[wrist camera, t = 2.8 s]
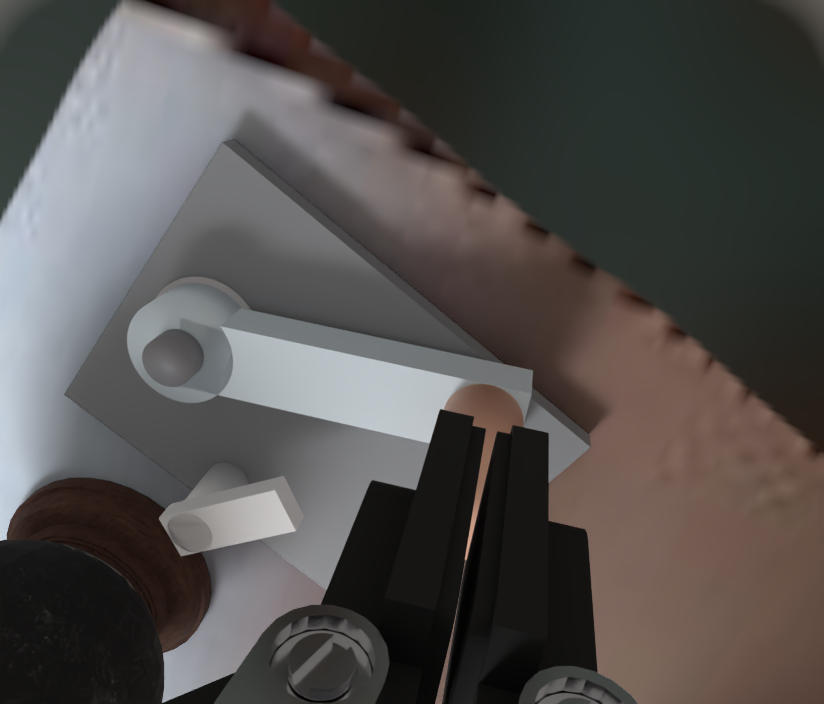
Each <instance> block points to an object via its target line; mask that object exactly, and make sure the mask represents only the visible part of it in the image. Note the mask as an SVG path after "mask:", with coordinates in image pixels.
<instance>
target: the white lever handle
mask: <svg viewBox="0 0 824 704" xmlns="http://www.w3.org/2000/svg"><path fill="white" fill-rule="evenodd" d="M127 346H128V351H129V355H130V358H131V361H132V363H133V365H134V367H135V369H136V370H137V372H138V374H139V375H140V376H141V377H142V379H143V380H144V381H145V382H146V383H147V384H148V385H149V386H150V387H152V388H153V389H154V390H155V391H157V392H158V393H160V394H162V395H163V396H165V397H167V398H170V399H172V400H176V401H179V402H185V403H199V402H204V401H207V400H210V399H212V398H214V397H215V396H217V395H219V396H224V397H228V398H233V399H237V400H241V401H246V402H250V403H255V404H259V405H263V406H268V407H272V408H277V409H281V410H285V411H290V412H294V413H298V414H303V415H307V416H312V417H316V418H320V419H325V420H329V421H334V422H338V423H342V424H347V425H351V426H356V427H360V428H364V429H369V430H373V431H378V432H382V433H386V434H391V435H395V436H400V437H404V438H408V439H413V440H417V441H421V442H426V443H430V441H431V437H432V434H433V431H434V427H435V424H436V420H437V417H438V414H439V411H440V409H443V410H447V411H452V412H456V413H461V414H465V415H470V416H474V421H473V426H476V427H481V428H485V429H486V433H485V440H484V446H483V452H482V458H481V464H480V470H479V476H478V482H477V488H476V495H475V501H474V507H473V513H472V519H471V525H470V531H469V537H468V544H467V550H466V556H465V560H467V556H468V552H469V548H470V543H471V539H472V535H473V531H474V526H475V522H476V518H477V514H478V509H479V505H480V501H481V497H482V492H483V488H484V484H485V480H486V475H487V471H488V467H489V463H490V458H491V454H492V450H493V446H494V441H495V437H496V434H497V431H499V432H504V433H508V434H510V432H511V429H512V426H513V425H515V426H520V427H523V426H524V422H525V418H526V414H527V410H528V406H529V402H530V398H531V394H532V379H533V370H529V369H524V368H519V367H515V366H510V365H505V364H501V363H496V362H491V361H487V360H482V359H477V358H473V357H468V356H463V355H459V354H454V353H449V352H444V351H440V350H435V349H430V348H426V347H421V346H416V345H412V344H407V343H402V342H398V341H393V340H388V339H383V338H379V337H374V336H369V335H365V334H360V333H355V332H351V331H346V330H341V329H337V328H332V327H327V326H323V325H318V324H313V323H308V322H304V321H299V320H294V319H290V318H285V317H280V316H276V315H271V314H266V313H262V312H257V311H252V310H247V309H243V308H241V307H240V306H239V305H238V304H237V303H236V302H235V301H234V300H233V299H232V298H231V297H230V296H228V295H227V294H226V293H224V292H223V291H221V290H219V289H217V288H215V287H212V286H209V285H206V284H200V283H186V284H181V285H178V286H176V287H174V288H172V289H170V290H169V291H167V292H165V293H164V294H162V295H161V296H159V297H158V298H156V299H155V300H153V301H151V302H150V303H148V304H147V305H145V306H144V307H142V308H141V309H140V310H139V311H138V312H137V313H136V314H135V316H134V317H133V319H132V320H131V322H130V325H129V328H128V333H127Z"/></svg>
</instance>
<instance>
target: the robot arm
mask: <svg viewBox="0 0 824 704" xmlns="http://www.w3.org/2000/svg"><path fill="white" fill-rule="evenodd" d="M473 421H474V416H470V415H465V414H461V413H456V412H452V411H447V410H443V409H440V411H439V414H438V417H437V420H436V424H435V427H434V431H433V434H432V437H431V441H430V444H429V448H428V451H427V454H426V458H425V461H424V465H423V468H422V471H421V475H420V478H419V481H418V485H417V488H416V490H413V489H409V488H405V487H401V486H396V485H392V484H388V483H383V482H379V481H375V480H372V481H371V482H370V484H369V486H368V489H367V491H366V494H365V496H364V499H363V501H362V504H361V506H360V509H359V511H358V513H357V516H356V518H355V521H354V523H353V526H352V528H351V531H350V533H349V536H348V538H347V541H346V543H345V546H344V548H343V551H342V553H341V556H340V558H339V561H338V563H337V566H336V568H335V571H334V573H333V576H332V578H331V581H330V583H329V586H328V588H327V591H326V593H325V596H324V598H323V601H322V603H321V605H309V606H305V607H301V608H297V609H293V610H291V611H289V612H288V613H286V614H284V615H282V616H280V617H279V618H277V619H276V620H275V621H274V622H273V623H272V624H271V625H270V626H269V627H268V628H267V629H266V630H265V631H264V632H263V634H262V635H261V636H260V638H259V639H258V641H257V642H256V644H255V645H254V646H253V648H252V649H251V651H250V652H249V654H248V655H247V656H246V658H245V659H244V661H243V662H242V664H241V665H240V666H239V668H238V669H237V671H236V672H235V673H233V674H231V675H228V676H226V677H223V678H221V679H219V680H216V681H214V682H212V683H209V684H207V685H204V686H202V687H200V688H197V689H195V690H193V691H190V692H188V693H185V694H183V695H181V696H178V697H176V698H174V699H171V700H169V701H166V702H164V703H162V704H435V701H436V697H437V692H438V688H439V684H440V680H441V675H442V671H443V667H444V663H445V659H446V654H447V650H448V646H449V642H450V637H451V633H452V629H453V624H454V619H455V614H456V609H457V604H458V609H457V615H456V621H455V627H454V633H453V640H452V646H451V652H450V658H449V664H448V670H447V677H446V683H445V689H444V695H443V701H442V704H638V703H637V702H636V701H635V699H634V698H633V697H632V696H631V695H630V694H629V693H628V692H626V691H625V690H624V689H623V688H622V687H620V686H619V685H618V684H617V683H615V682H614V681H612V680H611V679H609V678H607V677H605V676H603V675H601V674H599V673H597V660H596V646H595V632H594V618H593V604H592V590H591V576H590V562H589V548H588V537H587V532H586V531H585V529H581V528H577V527H573V526H568V525H564V524H560V523H555V522H551V521H548V492H549V433H547V432H543V431H538V430H534V429H529V428H524V427H520V426H515V425H513V426H512V429H511V432H510V434H508V433H504V432H499V431H497V434H496V437H495V441H494V446H493V450H492V454H491V458H490V463H489V467H488V471H487V475H486V480H485V484H484V488H483V492H482V497H481V501H480V505H479V509H478V514H477V518H476V522H475V526H474V531H473V535H472V539H471V543H470V548H469V552H468V556H467V560H466V565H465V569H464V574H463V568H464V562H465V556H466V550H467V544H468V537H469V531H470V525H471V519H472V513H473V507H474V501H475V495H476V488H477V482H478V476H479V470H480V464H481V458H482V452H483V446H484V440H485V433H486V429H485V428H481V427H476V426H473ZM462 574H463V579H462ZM461 580H462V584H461ZM460 586H461V590H460ZM459 592H460V596H459ZM458 598H459V603H458Z"/></svg>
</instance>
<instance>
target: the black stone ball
mask: <svg viewBox="0 0 824 704" xmlns="http://www.w3.org/2000/svg"><path fill="white" fill-rule="evenodd" d="M164 511H165V509H164V508H163V507H161V506H160V505H158V504H157V503H156V502H154V501H153V500H151V499H150V498H148V497H146V496H144V495H142V494H140V493H139V492H137V491H135V490H133V489H131V488H128V487H125V486H122V485H119V484H116V483H114V482H111V481H106V480H100V479H94V478H68V479H64V480H59V481H55V482H52V483H50V484H48V485H46V486H44V487H42V488H40V489H39V490H37V491H36V492H35V493H34V494H33V495H32V496H31V497H29V498H28V499H27V500H26V501H25V502H24V503H23V504H22V505H20V506H19V507H18V509H17V510H16V512H15V514H14V515H13V517H12V519H11V521H10V524H9V528H8V532H7V540H3V541H0V704H162V698H163V691H164V660H163V653H164V652H167V651H170V650H173V649H175V648H177V647H178V646H180V645H182V644H183V643H185V642H186V641H187V640H188V639H189V638H190V637H191V636H192V635H193V634H194V632H195V631H196V630H197V628H198V627H199V625H200V623H201V622H202V620H203V618H204V616H205V614H206V612H207V610H208V608H209V603H210V597H211V583H210V575H209V571H208V568H207V565H206V562H205V559H204V557H203V555H202V553H201V552H198V553H194V554H189V555H185V556H181V555H180V554H179V552H178V550H177V549H176V547H175V545H174V544H173V542H172V540H171V538H170V537H169V535H168V533H167V532H166V530H165V528H164V527H163V525H162V523H161V521H160V520H159V517H160V516H161V515H162V513H163V512H164Z"/></svg>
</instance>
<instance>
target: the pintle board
mask: <svg viewBox="0 0 824 704" xmlns="http://www.w3.org/2000/svg"><path fill="white" fill-rule="evenodd" d="M186 283H200V284H206V285H209V286H212V287H215V288H217V289H219V290H221V291H223V292H224V293H226V294H227V295H228V296H230V297H231V298H232V299H233V300H234V301H235V302H236V303H237V304H238V305H239V306H240V307H241V308H243V309H247V310H252V311H257V312H262V313H266V314H271V315H276V316H280V317H285V318H290V319H294V320H299V321H304V322H308V323H313V324H318V325H323V326H327V327H332V328H337V329H341V330H346V331H351V332H355V333H360V334H365V335H369V336H374V337H379V338H383V339H388V340H393V341H398V342H402V343H407V344H412V345H416V346H421V347H426V348H430V349H435V350H440V351H444V352H449V353H454V354H459V355H463V356H468V357H473V358H477V359H482V360H487V361H491V362H496V363H501V364H504V363H502V362H501V361H500V360H499V359H498V358H496V357H495V356H494V355H493V354H492V353H490V352H489V351H488V350H487V349H486V348H484V347H483V346H482V345H481V344H480V343H478V342H477V341H476V340H475V339H474V338H472V337H471V336H470V335H469V334H468V333H466V332H465V331H464V330H463V329H462V328H460V327H459V326H458V325H457V324H455V323H454V322H453V321H452V320H451V319H449V318H448V317H447V316H446V315H445V314H443V313H442V312H441V311H440V310H439V309H437V308H436V307H435V306H434V305H433V304H431V303H430V302H429V301H428V300H427V299H425V298H424V297H423V296H422V295H421V294H419V293H418V292H417V291H416V290H415V289H413V288H412V287H411V286H410V285H409V284H407V283H406V282H405V281H404V280H403V279H401V278H400V277H399V276H398V275H397V274H395V273H394V272H393V271H392V270H390V269H389V268H388V267H387V266H386V265H384V264H383V263H382V262H381V261H380V260H378V259H377V258H376V257H375V256H374V255H372V254H371V253H370V252H369V251H368V250H366V249H365V248H364V247H363V246H362V245H360V244H359V243H358V242H357V241H356V240H354V239H353V238H352V237H351V236H350V235H348V234H347V233H346V232H345V231H344V230H342V229H341V228H340V227H339V226H338V225H336V224H335V223H334V222H333V221H332V220H330V219H329V218H328V217H327V216H325V215H324V214H323V213H322V212H321V211H319V210H318V209H317V208H316V207H315V206H313V205H312V204H311V203H310V202H309V201H307V200H306V199H305V198H304V197H303V196H301V195H300V194H299V193H298V192H297V191H295V190H294V189H293V188H292V187H291V186H289V185H288V184H287V183H286V182H285V181H283V180H282V179H281V178H280V177H279V176H277V175H276V174H275V173H274V172H273V171H271V170H270V169H269V168H268V167H267V166H265V165H264V164H263V163H262V162H261V161H259V160H258V159H257V158H256V157H254V156H253V155H252V154H251V153H250V152H248V151H247V150H246V149H245V148H244V147H242V146H241V145H240V144H239V143H238V142H236V141H235V140H234V139H232V140H229V141H226V142H222V144H221V146H220V147H219V149H218V150H217V152H216V154H215V155H214V157H213V158H212V160H211V162H210V163H209V165H208V166H207V168H206V169H205V171H204V173H203V174H202V176H201V177H200V179H199V181H198V182H197V184H196V185H195V187H194V189H193V190H192V192H191V193H190V195H189V197H188V198H187V200H186V201H185V203H184V204H183V206H182V208H181V209H180V211H179V212H178V214H177V216H176V217H175V219H174V220H173V222H172V224H171V225H170V227H169V228H168V230H167V232H166V233H165V235H164V236H163V238H162V240H161V241H160V243H159V244H158V246H157V247H156V249H155V251H154V252H153V254H152V255H151V257H150V259H149V260H148V262H147V263H146V265H145V267H144V268H143V270H142V271H141V273H140V275H139V276H138V278H137V279H136V281H135V283H134V284H133V286H132V287H131V289H130V290H129V292H128V294H127V295H126V297H125V298H124V300H123V302H122V303H121V305H120V306H119V308H118V310H117V311H116V313H115V314H114V316H113V318H112V319H111V321H110V322H109V324H108V326H107V327H106V329H105V330H104V332H103V333H102V335H101V337H100V338H99V340H98V341H97V343H96V345H95V346H94V348H93V349H92V351H91V353H90V354H89V356H88V357H87V359H86V361H85V362H84V364H83V365H82V367H81V369H80V370H79V372H78V373H77V375H76V376H75V378H74V380H73V381H72V383H71V384H70V386H69V388H68V389H67V391H66V392H65V394H64V395H66V396H67V397H68V398H70V399H71V400H72V401H74V402H75V403H76V404H78V405H79V406H80V407H82V408H83V409H84V410H86V411H87V412H88V413H90V414H91V415H92V416H94V417H95V418H96V419H98V420H99V421H100V422H102V423H103V424H104V425H106V426H107V427H108V428H110V429H111V430H112V431H114V432H115V433H116V434H118V435H119V436H120V437H122V438H123V439H124V440H126V441H127V442H128V443H130V444H131V445H132V446H134V447H135V448H136V449H138V450H139V451H141V452H142V453H143V454H145V455H146V456H147V457H149V458H150V459H151V460H153V461H154V462H155V463H157V464H158V465H159V466H161V467H162V468H163V469H165V470H166V471H167V472H169V473H170V474H171V475H173V476H174V477H175V478H177V479H178V480H179V481H181V482H182V483H183V484H185V485H186V486H187V487H189V488H190V489H191V490H192V492H191V493H190V494H189V495H188V497H187V498H186V499H185V500H184V501H180V502H176V503H172V504H170V505H169V506H168V507H167V509H166V510H165V511H164V512H163V513H162V515H161V516H160V517H159V520H160V521H161V523H162V525H163V527H164V528H165V530H166V532H167V533H168V535H169V537H170V538H171V540H172V542H173V544H174V545H175V547H176V549H177V550H178V552H179V554H180V555H181V556H185V555H189V554H194V553H198V552H203V551H207V550H212V549H217V548H221V547H226V546H230V545H235V544H240V543H244V542H249V541H253V540H260V541H261V542H262V543H264V544H265V545H266V546H268V547H269V548H270V549H272V550H273V551H274V552H276V553H277V554H278V555H280V556H281V557H282V558H284V559H285V560H286V561H288V562H289V563H290V564H292V565H293V566H294V567H296V568H297V569H298V570H300V571H301V572H302V573H304V574H305V575H307V576H308V577H309V578H311V579H312V580H313V581H315V582H316V583H317V584H319V585H320V586H321V587H323V588H324V589H325V590H327V588H328V586H329V583H330V581H331V578H332V576H333V573H334V571H335V568H336V566H337V563H338V561H339V558H340V556H341V553H342V551H343V548H344V546H345V543H346V541H347V538H348V536H349V533H350V531H351V528H352V526H353V523H354V521H355V518H356V516H357V513H358V511H359V509H360V506H361V504H362V501H363V499H364V496H365V494H366V491H367V489H368V486H369V484H370V482H371V481H372V480H375V481H379V482H383V483H388V484H392V485H396V486H401V487H405V488H409V489H413V490H416V488H417V485H418V481H419V478H420V475H421V471H422V468H423V465H424V461H425V458H426V454H427V451H428V448H429V444H430V443H426V442H421V441H417V440H413V439H408V438H404V437H400V436H395V435H391V434H386V433H382V432H378V431H373V430H369V429H364V428H360V427H356V426H351V425H347V424H342V423H338V422H334V421H329V420H325V419H320V418H316V417H312V416H307V415H303V414H298V413H294V412H290V411H285V410H281V409H277V408H272V407H268V406H263V405H259V404H255V403H250V402H246V401H241V400H237V399H233V398H228V397H224V396H219V395H217V396H215V397H214V398H212V399H210V400H207V401H204V402H199V403H185V402H179V401H176V400H172V399H170V398H167V397H165V396H163V395H162V394H160V393H158V392H157V391H155V390H154V389H153V388H152V387H150V386H149V385H148V384H147V383H146V382H145V381H144V380H143V379H142V377H141V376H140V375H139V374H138V372H137V370H136V369H135V367H134V365H133V363H132V361H131V358H130V355H129V351H128V346H127V333H128V328H129V325H130V322H131V320H132V319H133V317H134V316H135V314H136V313H137V312H138V311H139V310H140V309H141V308H142V307H144V306H145V305H147V304H148V303H150V302H151V301H153V300H155V299H156V298H158V297H159V296H161V295H162V294H164V293H165V292H167V291H169V290H170V289H172V288H174V287H176V286H178V285H181V284H186ZM523 427H524V428H529V429H534V430H538V431H543V432H547V433H549V482H550V481H551V480H553V479H554V478H555V477H556V476H557V475H559V474H560V473H561V472H562V471H563V470H564V469H566V468H567V467H568V466H569V465H570V464H571V463H573V462H574V461H575V460H576V459H577V458H579V457H580V456H581V455H582V454H583V453H584V452H586V451H587V450H588V449H589V448H590V447H591V446H590V436H589V434H588V433H587V432H585V431H584V430H583V429H582V428H581V427H579V426H578V425H577V424H576V423H575V422H573V421H572V420H571V419H570V418H569V417H567V416H566V415H565V414H564V413H563V412H561V411H560V410H559V409H558V408H557V407H555V406H554V405H553V404H552V403H551V402H549V401H548V400H547V399H546V398H545V397H543V396H542V395H541V394H540V393H539V392H537V391H536V390H535V389H534V388H533V387H532V394H531V398H530V402H529V406H528V410H527V414H526V418H525V422H524V426H523Z"/></svg>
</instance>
